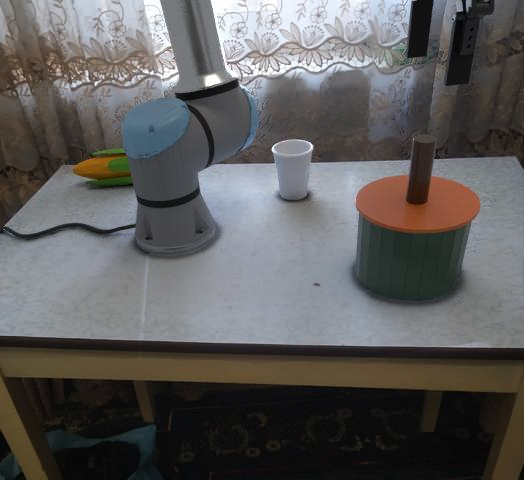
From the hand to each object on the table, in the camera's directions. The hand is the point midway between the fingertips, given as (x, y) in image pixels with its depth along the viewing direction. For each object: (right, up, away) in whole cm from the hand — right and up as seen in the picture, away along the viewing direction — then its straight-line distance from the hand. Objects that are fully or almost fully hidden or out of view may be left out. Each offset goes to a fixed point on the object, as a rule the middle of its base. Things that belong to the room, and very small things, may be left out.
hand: (434, 69), depth 66 cm
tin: (+2, -23, +20) cm, 31 cm away
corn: (-55, +3, +56) cm, 79 cm away
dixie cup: (-15, -3, +45) cm, 48 cm away
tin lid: (+1, -14, +12) cm, 18 cm away
